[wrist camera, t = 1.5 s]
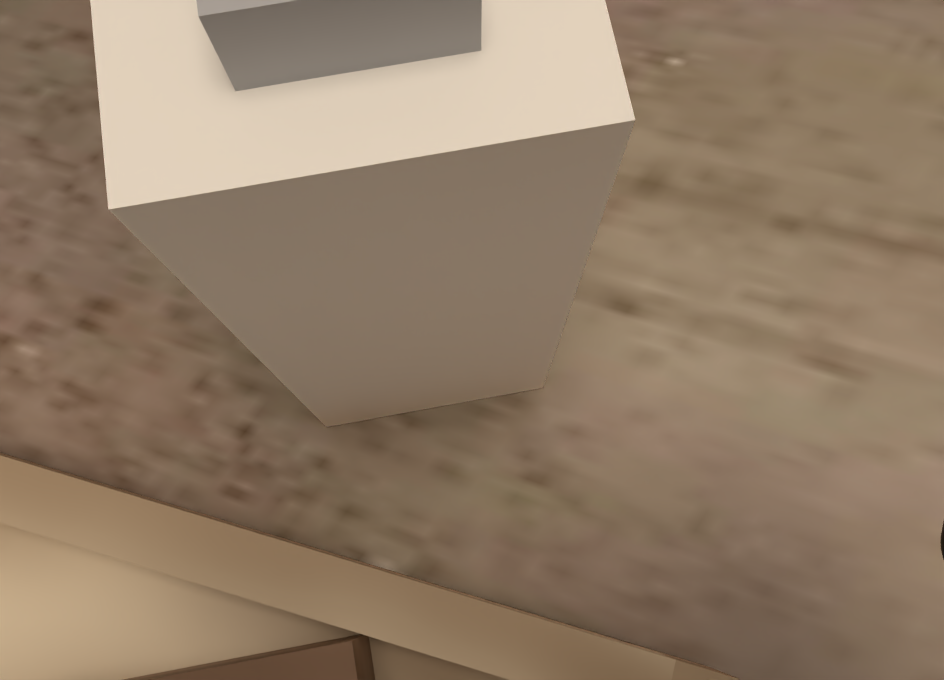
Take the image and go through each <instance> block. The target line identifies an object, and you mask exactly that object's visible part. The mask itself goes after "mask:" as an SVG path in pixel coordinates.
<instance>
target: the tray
mask: <svg viewBox="0 0 944 680" xmlns="http://www.w3.org/2000/svg"><path fill="white" fill-rule="evenodd" d="M0 680H740V679H738V678H736V677H733V676H731V675H728V674H725V673H723V672H720V671H718V670H715V669H712V668H710V667H707V666H704V665H701V664H698V663H694V662H691V661H688V660H684V659H681V658H678V657H674V656H671V655H668V654H665V653H661V652H658V651H655V650H651V649H648V648H645V647H641V646H638V645H635V644H631V643H628V642H625V641H622V640H618V639H615V638H612V637H608V636H605V635H602V634H598V633H595V632H592V631H588V630H585V629H582V628H579V627H575V626H572V625H569V624H565V623H562V622H559V621H555V620H552V619H549V618H545V617H542V616H539V615H536V614H532V613H529V612H526V611H522V610H519V609H516V608H512V607H509V606H506V605H502V604H499V603H496V602H493V601H489V600H486V599H483V598H479V597H476V596H473V595H469V594H466V593H463V592H459V591H456V590H453V589H450V588H446V587H443V586H440V585H436V584H433V583H430V582H426V581H423V580H420V579H416V578H413V577H410V576H407V575H403V574H400V573H397V572H393V571H390V570H387V569H383V568H380V567H377V566H373V565H370V564H367V563H364V562H360V561H357V560H354V559H350V558H347V557H344V556H340V555H337V554H334V553H330V552H327V551H324V550H321V549H317V548H314V547H311V546H307V545H304V544H301V543H297V542H294V541H291V540H287V539H284V538H281V537H278V536H274V535H271V534H268V533H264V532H261V531H258V530H254V529H251V528H248V527H244V526H241V525H238V524H235V523H231V522H228V521H225V520H221V519H218V518H215V517H211V516H208V515H205V514H201V513H198V512H195V511H192V510H188V509H185V508H182V507H178V506H175V505H172V504H168V503H165V502H162V501H158V500H155V499H152V498H149V497H145V496H142V495H139V494H135V493H132V492H129V491H125V490H122V489H119V488H115V487H112V486H109V485H106V484H102V483H99V482H96V481H92V480H89V479H86V478H82V477H79V476H76V475H72V474H69V473H66V472H63V471H59V470H56V469H53V468H49V467H46V466H43V465H39V464H36V463H33V462H29V461H26V460H23V459H20V458H16V457H13V456H10V455H6V454H3V453H0Z"/></svg>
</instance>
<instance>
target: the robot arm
mask: <svg viewBox="0 0 944 680" xmlns="http://www.w3.org/2000/svg"><path fill="white" fill-rule="evenodd" d="M941 551H942V555H943V559H944V522H943V528H942V533H941Z"/></svg>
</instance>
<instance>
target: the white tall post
mask: <svg viewBox="0 0 944 680" xmlns="http://www.w3.org/2000/svg"><path fill="white" fill-rule="evenodd" d="M90 2H91V14H92V25H93V37H94V48H95V60H96V71H97V83H98V94H99V106H100V117H101V129H102V140H103V152H104V163H105V175H106V186H107V198H108V209H109V211H110V212H111V213H112V214H113V215H114V216H115V217H116V218H117V219H118V220H119V221H120V222H121V223H122V224H123V225H124V226H125V227H126V228H127V229H128V230H129V231H130V232H131V233H132V234H133V235H134V236H135V237H136V238H137V239H138V240H139V241H140V242H141V243H142V244H143V245H144V246H145V247H146V248H147V249H148V250H149V251H150V252H151V253H152V254H153V255H154V256H155V257H156V258H157V259H158V260H159V261H160V262H161V263H162V264H163V265H164V266H165V267H166V268H167V269H168V270H169V271H170V272H172V273H173V274H174V275H175V276H176V277H177V278H178V279H179V280H180V281H181V282H182V283H183V284H184V285H185V286H186V287H187V288H188V289H189V290H190V291H191V292H192V293H193V294H194V295H195V296H196V297H197V298H198V299H199V300H200V301H201V302H202V303H203V304H204V305H205V306H206V307H207V308H208V309H209V310H210V311H211V312H212V313H213V314H214V315H215V316H216V317H217V318H218V319H219V320H220V321H221V322H222V323H223V324H224V325H225V326H226V327H227V328H228V329H229V330H230V331H231V332H232V333H233V334H234V335H235V336H236V337H237V338H238V339H239V340H240V341H241V342H242V343H243V344H244V345H245V346H246V347H247V348H248V349H249V350H250V351H251V352H252V353H253V354H254V355H255V356H256V357H257V358H258V359H259V360H260V361H261V362H262V363H263V364H264V365H265V366H266V367H267V368H268V369H269V370H270V371H271V372H272V373H273V374H274V375H275V376H276V377H277V378H278V379H279V380H280V381H281V382H282V383H283V384H284V385H285V386H286V387H287V388H288V389H289V390H290V391H291V392H292V393H293V394H294V395H295V396H296V397H297V398H298V399H299V400H300V401H301V402H302V403H303V404H304V405H305V406H306V407H307V408H308V409H309V410H310V411H311V412H312V413H313V414H314V415H315V416H316V417H317V418H318V419H319V420H320V421H321V422H322V423H323V424H324V425H325V426H326V427H330V426H336V425H341V424H347V423H352V422H358V421H363V420H369V419H374V418H380V417H385V416H391V415H396V414H402V413H407V412H413V411H418V410H424V409H429V408H435V407H440V406H446V405H451V404H457V403H462V402H468V401H473V400H479V399H484V398H490V397H495V396H501V395H506V394H512V393H517V392H523V391H528V390H534V389H539V388H543V387H544V384H545V381H546V378H547V375H548V372H549V369H550V366H551V364H552V361H553V358H554V355H555V352H556V349H557V346H558V343H559V340H560V337H561V334H562V332H563V329H564V326H565V323H566V320H567V317H568V314H569V311H570V308H571V305H572V302H573V300H574V297H575V294H576V291H577V288H578V285H579V282H580V279H581V276H582V273H583V270H584V268H585V265H586V262H587V259H588V256H589V253H590V250H591V247H592V244H593V241H594V238H595V236H596V233H597V230H598V227H599V224H600V221H601V218H602V215H603V212H604V209H605V207H606V204H607V201H608V198H609V195H610V192H611V189H612V186H613V183H614V180H615V177H616V175H617V172H618V169H619V166H620V163H621V160H622V157H623V154H624V151H625V148H626V145H627V143H628V140H629V137H630V134H631V131H632V128H633V125H634V122H635V117H634V113H633V109H632V105H631V101H630V97H629V93H628V89H627V85H626V82H625V78H624V74H623V70H622V66H621V62H620V58H619V54H618V50H617V46H616V42H615V38H614V34H613V30H612V26H611V22H610V18H609V14H608V10H607V7H606V3H605V0H90Z"/></svg>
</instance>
